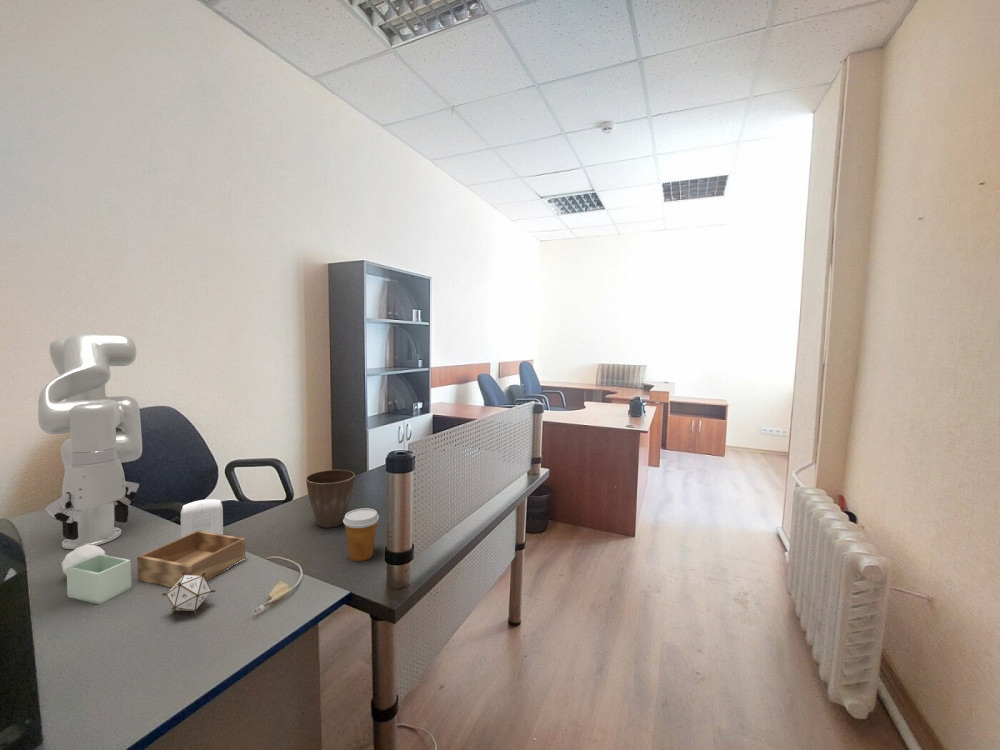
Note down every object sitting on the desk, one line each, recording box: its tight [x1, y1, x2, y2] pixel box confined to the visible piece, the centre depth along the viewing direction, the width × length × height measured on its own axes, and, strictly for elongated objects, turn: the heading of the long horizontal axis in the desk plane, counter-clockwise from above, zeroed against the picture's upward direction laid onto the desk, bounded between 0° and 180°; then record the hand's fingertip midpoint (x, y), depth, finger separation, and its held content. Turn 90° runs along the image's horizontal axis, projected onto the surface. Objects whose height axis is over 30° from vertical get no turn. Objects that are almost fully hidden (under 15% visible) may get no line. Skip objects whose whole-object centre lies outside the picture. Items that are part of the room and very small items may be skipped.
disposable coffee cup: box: [342, 507, 380, 562], centre depth 116 cm, size 10×10×12 cm
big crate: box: [136, 531, 246, 588], centre depth 108 cm, size 17×16×6 cm
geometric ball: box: [61, 544, 106, 576], centre depth 104 cm, size 8×8×8 cm
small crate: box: [66, 554, 133, 606], centre depth 97 cm, size 10×7×7 cm, turn 75°
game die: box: [161, 571, 217, 615], centre depth 91 cm, size 9×8×10 cm
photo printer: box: [180, 498, 224, 538], centre depth 123 cm, size 10×4×12 cm, turn 123°
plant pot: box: [305, 469, 356, 529], centre depth 137 cm, size 15×15×16 cm
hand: (97, 529), depth 96 cm, fingers open, 9 cm apart
